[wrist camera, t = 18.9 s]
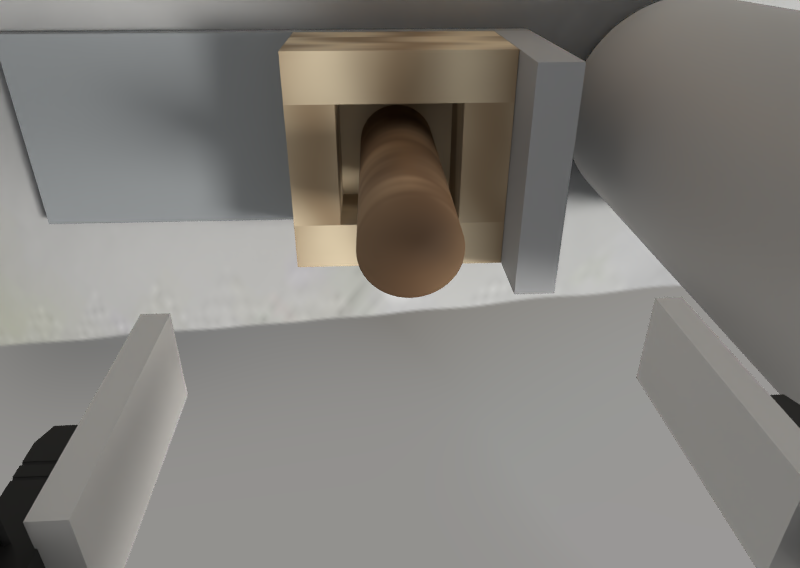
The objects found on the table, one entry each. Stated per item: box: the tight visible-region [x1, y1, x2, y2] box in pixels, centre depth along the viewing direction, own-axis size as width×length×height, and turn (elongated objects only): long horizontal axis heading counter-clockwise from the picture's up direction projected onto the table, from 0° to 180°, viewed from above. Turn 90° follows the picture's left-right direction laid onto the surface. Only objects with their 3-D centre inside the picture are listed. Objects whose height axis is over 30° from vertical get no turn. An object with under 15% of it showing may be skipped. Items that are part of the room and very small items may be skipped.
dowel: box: [356, 105, 465, 298], centre depth 29 cm, size 4×4×14 cm
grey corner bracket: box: [0, 28, 586, 294], centre depth 32 cm, size 29×11×11 cm, turn 90°
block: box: [278, 31, 519, 267], centre depth 34 cm, size 11×11×6 cm
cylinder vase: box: [573, 0, 800, 404], centre depth 27 cm, size 12×12×25 cm
